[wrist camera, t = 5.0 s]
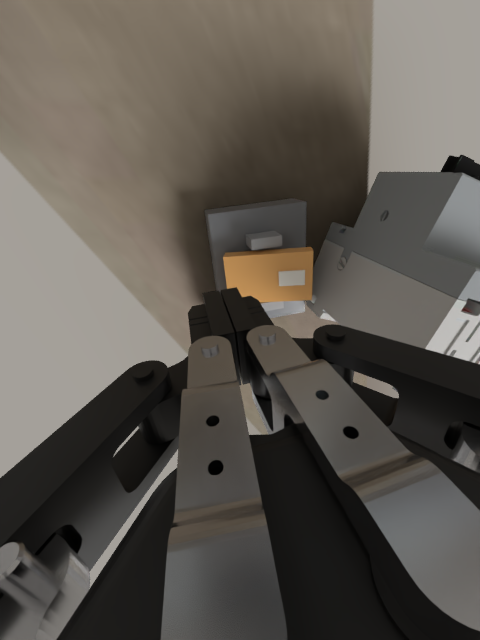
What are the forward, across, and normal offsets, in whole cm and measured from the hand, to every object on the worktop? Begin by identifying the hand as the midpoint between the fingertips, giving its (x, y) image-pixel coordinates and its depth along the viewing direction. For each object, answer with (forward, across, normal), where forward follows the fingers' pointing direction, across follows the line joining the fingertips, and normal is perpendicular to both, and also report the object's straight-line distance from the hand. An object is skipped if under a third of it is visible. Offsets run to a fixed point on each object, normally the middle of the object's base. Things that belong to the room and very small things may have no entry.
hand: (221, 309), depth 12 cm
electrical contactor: (+15, -16, +3) cm, 22 cm away
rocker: (+11, -5, +3) cm, 12 cm away
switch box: (+15, -5, +3) cm, 16 cm away
